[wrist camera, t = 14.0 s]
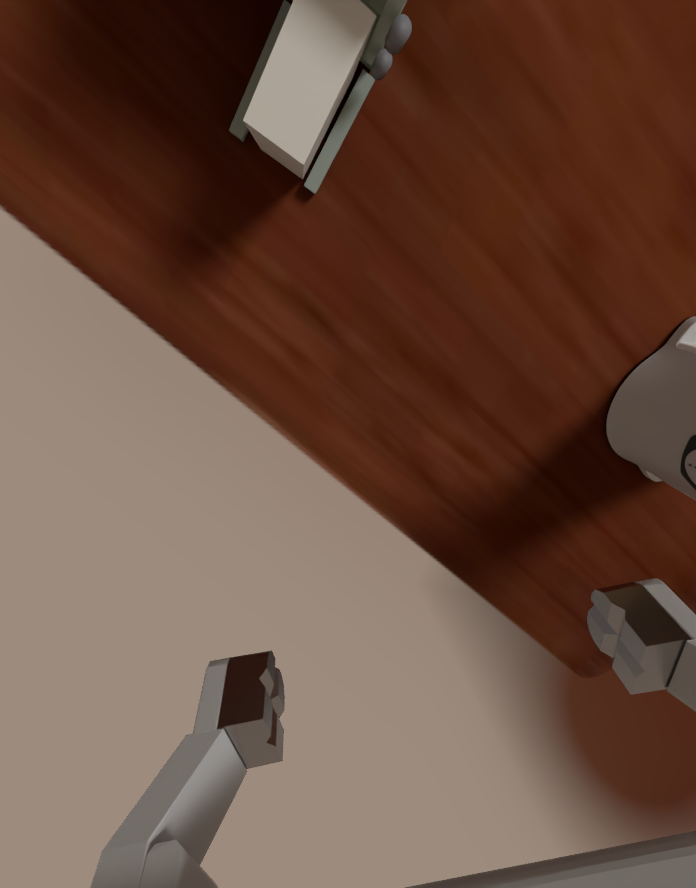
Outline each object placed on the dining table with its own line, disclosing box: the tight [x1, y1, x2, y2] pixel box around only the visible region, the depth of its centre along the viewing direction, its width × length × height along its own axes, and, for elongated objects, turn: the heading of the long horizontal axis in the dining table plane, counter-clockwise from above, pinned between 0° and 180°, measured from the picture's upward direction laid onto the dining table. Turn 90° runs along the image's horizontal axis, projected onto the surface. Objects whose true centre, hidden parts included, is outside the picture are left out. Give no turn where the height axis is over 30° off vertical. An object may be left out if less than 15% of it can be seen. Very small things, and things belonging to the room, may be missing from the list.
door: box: [243, 0, 376, 179], centre depth 25 cm, size 7×4×11 cm, turn 148°
